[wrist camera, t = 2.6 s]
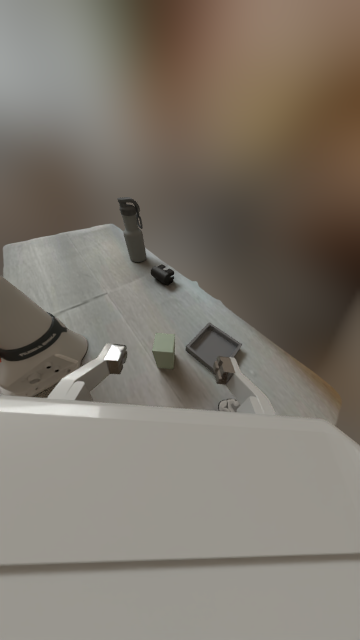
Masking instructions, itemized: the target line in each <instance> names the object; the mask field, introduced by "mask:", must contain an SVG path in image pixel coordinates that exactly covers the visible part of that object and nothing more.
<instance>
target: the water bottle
mask: <svg viewBox="0 0 360 640" xmlns="http://www.w3.org/2000/svg"><path fill="white" fill-rule="evenodd" d="M118 202H119V204H120V211H121V215H122V217H123V221H124V225H125V230H124V237H125V241H126V245H127V248H128V252H129V256H130V259H131V260H132V261H134V262H142V261H144V260H145V259H146V252H145V246H144V240H143V234H142V231H141V230H140V229H139V228H138V226H139V227H140V228H141V229H142V221H141V217H140V216H139V211H140V208H139V206H138V204H137V203H136V201H134V200H133V199H131V198H128V197H126V198H118ZM126 202H131V203H133V204H134V205H135V207H134V206H132V205H127V204H126ZM136 213H137V214H136ZM138 217H139V219H140V224H141V226H140V225H139V222H138ZM136 218H137V219H136Z"/></svg>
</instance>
